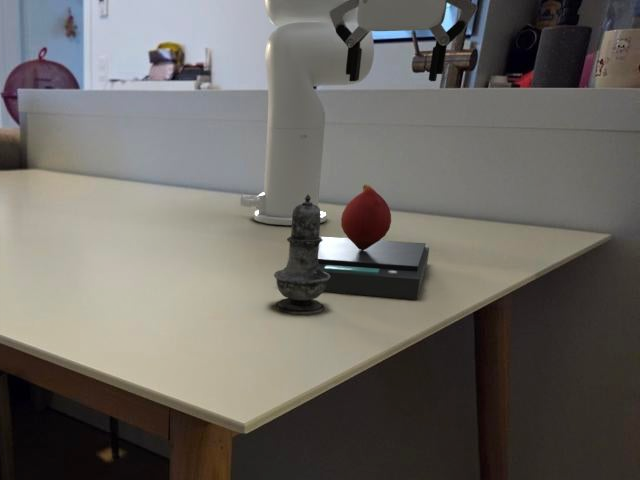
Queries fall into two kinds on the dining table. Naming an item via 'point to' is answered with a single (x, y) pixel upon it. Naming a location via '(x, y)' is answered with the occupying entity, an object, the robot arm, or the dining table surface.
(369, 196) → the onion
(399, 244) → the scale
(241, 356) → the dining table surface
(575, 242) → the dining table surface
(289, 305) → the salt shaker
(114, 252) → the dining table surface
